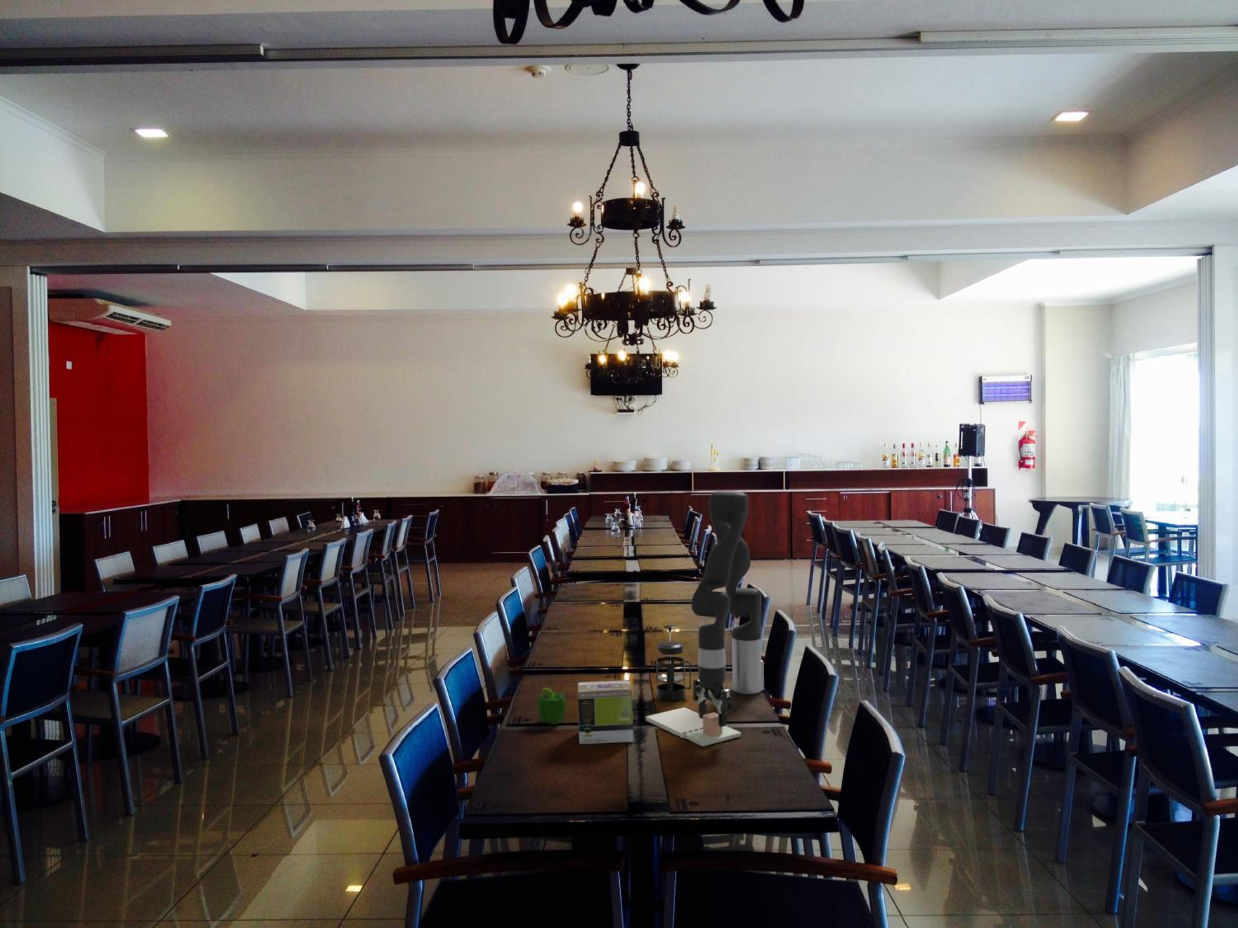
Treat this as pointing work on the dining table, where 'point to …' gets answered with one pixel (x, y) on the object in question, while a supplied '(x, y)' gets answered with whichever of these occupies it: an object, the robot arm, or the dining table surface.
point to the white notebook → (677, 721)
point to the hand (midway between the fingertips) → (712, 721)
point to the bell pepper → (551, 707)
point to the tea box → (605, 712)
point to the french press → (671, 671)
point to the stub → (711, 732)
